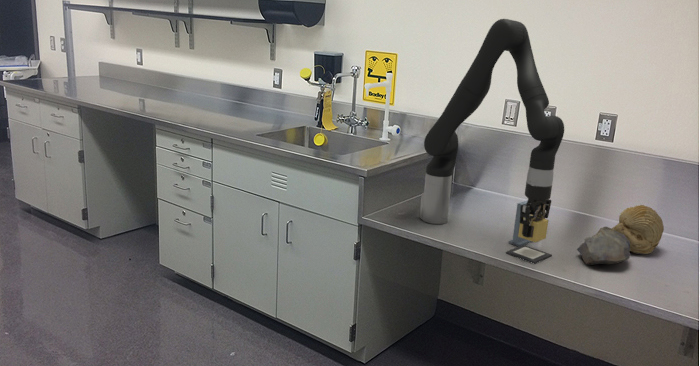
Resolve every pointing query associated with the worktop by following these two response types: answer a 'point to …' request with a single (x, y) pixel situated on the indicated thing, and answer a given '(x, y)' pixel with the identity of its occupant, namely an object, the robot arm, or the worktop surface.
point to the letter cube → (535, 229)
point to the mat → (528, 254)
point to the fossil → (641, 228)
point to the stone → (605, 247)
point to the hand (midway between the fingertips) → (532, 234)
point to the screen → (518, 240)
